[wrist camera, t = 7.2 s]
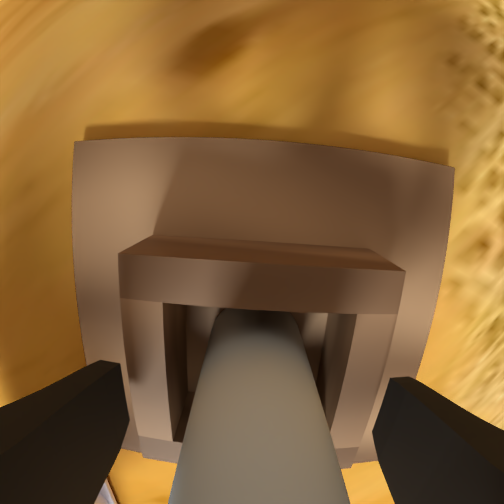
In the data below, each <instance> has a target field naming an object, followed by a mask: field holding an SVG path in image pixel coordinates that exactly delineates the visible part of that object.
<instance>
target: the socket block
mask: <svg viewBox="0 0 504 504" xmlns="http://www.w3.org/2000/svg"><path fill="white" fill-rule="evenodd" d="M454 171H455V168H454V167H450V166H445V165H440V164H436V163H431V162H426V161H421V160H416V159H411V158H405V157H400V156H394V155H388V154H382V153H376V152H369V151H363V150H356V149H348V148H341V147H333V146H324V145H315V144H306V143H295V142H284V141H271V140H256V139H237V138H209V137H147V138H120V139H102V140H87V141H75V142H74V155H73V175H72V241H73V261H74V275H75V286H76V296H77V305H78V314H79V321H80V328H81V335H82V341H83V347H84V353H85V359H86V364H87V366H88V365H90V364H92V363H94V362H96V361H99V360H105V361H110V362H116V363H120V364H121V371H122V377H123V384H124V390H125V396H126V401H127V407H128V412H129V417H130V421H129V425H128V428H127V431H126V434H125V437H124V440H123V443H122V446H121V448H122V449H127V450H131V451H136V452H141V453H142V455H143V457H144V458H149V459H154V460H159V461H165V462H171V463H178V460H179V456H180V452H181V448H182V443H183V439H184V435H185V431H186V427H187V423H188V419H189V415H190V411H191V407H192V403H193V399H194V395H195V392H196V388H197V384H198V380H199V376H200V372H201V368H202V364H203V361H204V357H205V353H206V349H207V345H208V341H209V338H210V334H211V330H212V327H213V324H214V322H215V320H216V318H217V317H218V316H219V314H220V313H221V312H222V311H223V310H224V309H226V308H234V309H249V310H266V311H285V312H289V313H290V314H291V315H292V316H293V318H294V319H295V321H296V323H297V325H298V329H299V332H300V335H301V338H302V341H303V345H304V348H305V351H306V354H307V358H308V361H309V364H310V367H311V371H312V374H313V377H314V381H315V384H316V387H317V390H318V394H319V397H320V400H321V404H322V407H323V410H324V414H325V417H326V421H327V424H328V427H329V431H330V434H331V438H332V441H333V444H334V448H335V451H336V455H337V458H338V462H339V465H340V469H345V468H351V466H352V464H353V463H362V462H371V461H378V457H377V453H376V449H375V445H374V440H373V435H372V430H373V427H374V424H375V422H376V419H377V416H378V413H379V410H380V407H381V404H382V401H383V398H384V395H385V392H386V389H387V386H388V382H389V379H390V378H393V377H406V376H409V377H411V378H413V379H416V376H417V373H418V369H419V366H420V363H421V360H422V357H423V353H424V350H425V346H426V343H427V339H428V335H429V332H430V328H431V324H432V320H433V316H434V312H435V307H436V303H437V298H438V294H439V289H440V284H441V279H442V273H443V268H444V262H445V256H446V250H447V243H448V236H449V228H450V220H451V211H452V200H453V188H454Z"/></svg>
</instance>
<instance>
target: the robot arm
mask: <svg viewBox="0 0 504 504" xmlns="http://www.w3.org/2000/svg"><path fill="white" fill-rule="evenodd" d="M129 421H130V417H129V412H128V407H127V401H126V396H125V390H124V384H123V377H122V371H121V364H120V363H116V362H110V361H105V360H99V361H96V362H94V363H92V364H90V365H88V366H86V367H84V368H82V369H80V370H78V371H76V372H74V373H72V374H70V375H69V376H67V377H65V378H63V379H61V380H59V381H57V382H55V383H53V384H51V385H49V386H47V387H45V388H43V389H41V390H39V391H37V392H35V393H33V394H30V395H28V396H26V397H24V398H22V399H19V400H17V401H15V402H13V403H10V404H8V405H5V406H3V407H0V504H117V502H116V500H115V497H114V495H113V493H112V490H111V488H110V485H109V483H108V480H107V476H108V474H109V472H110V470H111V468H112V466H113V464H114V462H115V460H116V458H117V456H118V453H119V451H120V449H121V446H122V443H123V440H124V437H125V434H126V431H127V428H128V425H129ZM372 435H373V440H374V445H375V449H376V453H377V457H378V461H379V464H380V467H381V469H382V472H383V474H384V477H385V480H386V482H387V485H388V487H389V490H390V492H391V495H392V497H393V500H394V502H395V504H504V430H502V429H500V428H498V427H496V426H494V425H492V424H490V423H488V422H486V421H484V420H482V419H480V418H479V417H477V416H475V415H473V414H472V413H470V412H468V411H466V410H465V409H463V408H461V407H460V406H458V405H457V404H455V403H453V402H452V401H450V400H448V399H447V398H445V397H444V396H442V395H440V394H439V393H437V392H436V391H434V390H432V389H431V388H429V387H428V386H426V385H424V384H423V383H421V382H419V381H417V380H415V379H413V378H411V377H409V376H406V377H393V378H390V379H389V382H388V386H387V389H386V392H385V395H384V398H383V401H382V404H381V407H380V410H379V413H378V416H377V419H376V422H375V424H374V427H373V430H372Z"/></svg>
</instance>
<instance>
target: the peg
mask: <svg viewBox="0 0 504 504" xmlns="http://www.w3.org/2000/svg"><path fill="white" fill-rule="evenodd" d="M168 504H350V501H349V497H348V493H347V490H346V486H345V483H344V479H343V476H342V472H341V469H340V465H339V462H338V458H337V455H336V451H335V448H334V444H333V441H332V438H331V434H330V431H329V427H328V424H327V421H326V417H325V414H324V410H323V407H322V404H321V400H320V397H319V394H318V390H317V387H316V384H315V381H314V377H313V374H312V371H311V367H310V364H309V361H308V358H307V354H306V351H305V348H304V345H303V341H302V338H301V335H300V332H299V329H298V325H297V323H296V321H295V319H294V318H293V316H292V315H291V314H290V313H289V312H285V311H266V310H249V309H234V308H226V309H224V310H223V311H222V312H221V313H220V314H219V316H218V317H217V318H216V320H215V322H214V324H213V327H212V330H211V334H210V338H209V341H208V345H207V349H206V353H205V357H204V361H203V364H202V368H201V372H200V376H199V380H198V384H197V388H196V392H195V395H194V399H193V403H192V407H191V411H190V415H189V419H188V423H187V427H186V431H185V435H184V439H183V443H182V448H181V452H180V456H179V460H178V464H177V468H176V472H175V476H174V481H173V485H172V489H171V493H170V497H169V502H168Z"/></svg>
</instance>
